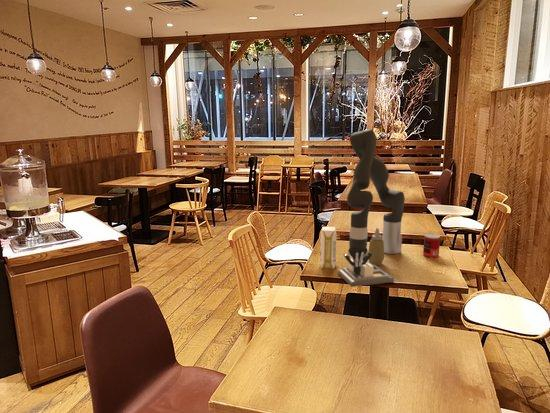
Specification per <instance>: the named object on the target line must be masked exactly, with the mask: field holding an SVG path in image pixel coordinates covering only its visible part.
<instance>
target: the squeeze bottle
mask: <svg viewBox="0 0 550 413" xmlns="http://www.w3.org/2000/svg"><path fill="white" fill-rule="evenodd" d="M367 250H368V252H370V253H371V254H372V256H371V257H370V258H369V260H368V263H370V264H371V265H376V266H381V265H382V264H383V261H384V259H385V253H384V241H383V240H382V235H381V234H380V229H379V227H378V228H377V227H376V228H375V231H374V234H372V235H371V238H370V240H369V244H368V249H367Z"/></svg>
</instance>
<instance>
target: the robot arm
mask: <svg viewBox="0 0 550 413" xmlns="http://www.w3.org/2000/svg"><path fill="white" fill-rule="evenodd" d="M349 143H350V146H351V148H352V150H353V152H354V153H355V155H356V156H357V157H358V159H359V161H358V162H357V164H356V166H355V168H354V171H353V177H352V185H351V188H350V189H349V192H348V194H347V198H346V202H347V205H348V206H350V207H351V208H363V209H361V210H358V211H354V212H352V213H351V214H350V229H349V242H348V243H349V244H348V246H349V247H348V248H349V249H348V252H346V253H344V254H343V257H344V258H345V260H346V261H347V263H348V262H349V263H350V264H351V265H352V266H354V273H355V274H356V275H357V274H360V273H361V266H362V265H365V264H366V262H367V263H368V262H369V258H370V257H371V256H372V254H371V253H370V252H368V250H369V249H368V237H369V236H368V233H369V231H368V218H369V212H370V209H371V207H372V203H373V200H374V195H373V194H372V192H371V191H369V190H367V189H368V188H369V187H370V180H371V182H372V184H373V185H374V188H375V190H376V192H377V195H378V198H379V200H380V203H381V205H382V206H384V207H386V208H391V209H392V212H388V213H385V214H383V220H382V235H381V236H382V240H383V241H384V254H387V255H397V254H399V253H402V246H403V245H402V242H403V235H402V234H401V233H402V220H403V214H404V208H405V194H404V192H403V191H399V190H394V189H390V188H389V186H388V185H387V183H388V181H389V179H390V178H389V177H390V173H389V170H388V168H387V165H386V164H385V163H384V161H383V160H381V159H380V158H378V157H377V156H375V152H376V150H377V135H376V134H375V131H374V129H364V130H360V131H356V132H354V133H351V135H350V136H349ZM352 258H353V262H352V260H351V259H352Z"/></svg>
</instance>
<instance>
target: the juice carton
mask: <svg viewBox="0 0 550 413" xmlns="http://www.w3.org/2000/svg"><path fill="white" fill-rule="evenodd" d="M319 241H320V242H319V243H320V244H319V246H320V247H319V264H320V268H321V269H333V270H334V269H335V266H336V263H337V262H336V261H337V259H336V258H337V230H336V227H335V226H322V228H321V231H320V240H319Z"/></svg>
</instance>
